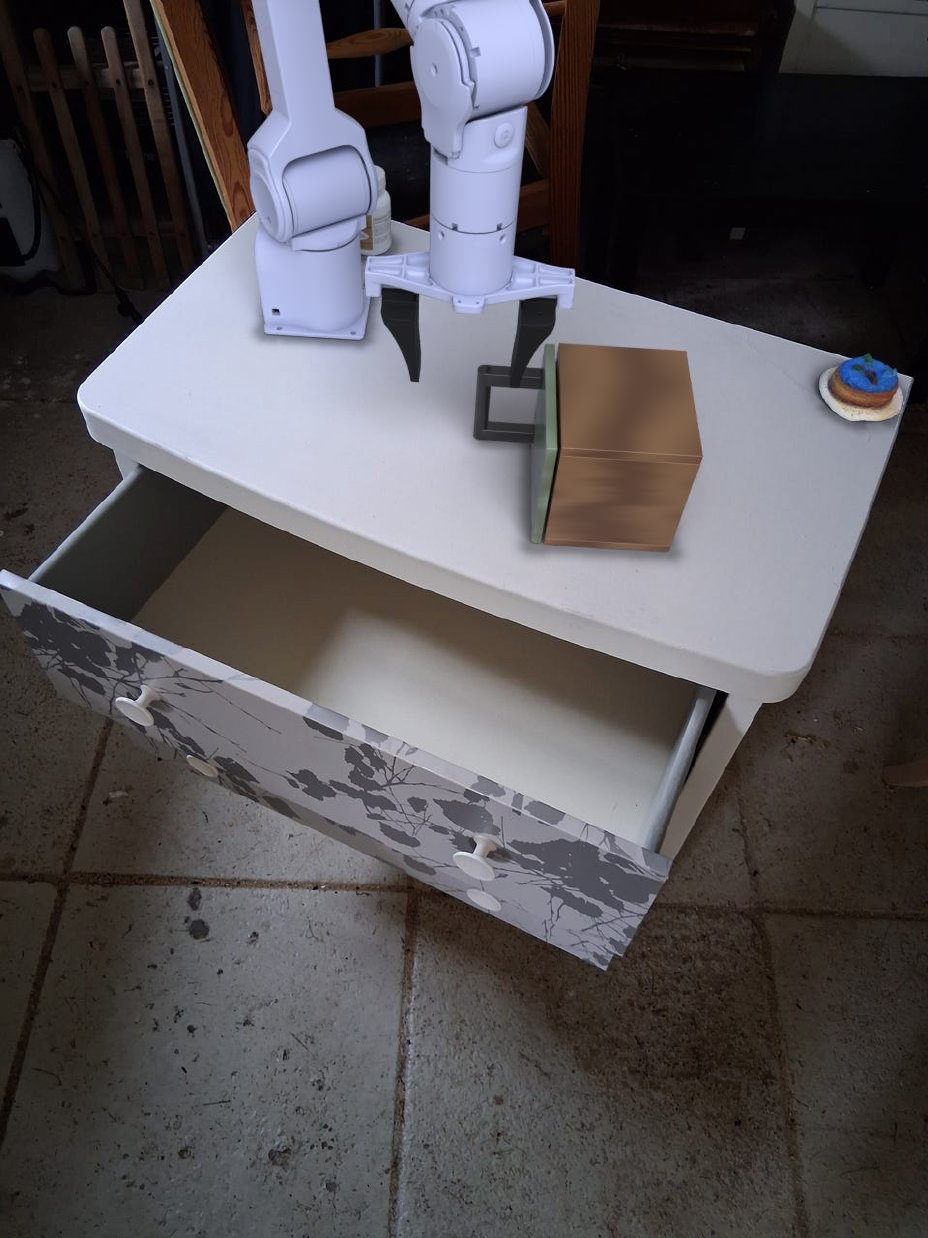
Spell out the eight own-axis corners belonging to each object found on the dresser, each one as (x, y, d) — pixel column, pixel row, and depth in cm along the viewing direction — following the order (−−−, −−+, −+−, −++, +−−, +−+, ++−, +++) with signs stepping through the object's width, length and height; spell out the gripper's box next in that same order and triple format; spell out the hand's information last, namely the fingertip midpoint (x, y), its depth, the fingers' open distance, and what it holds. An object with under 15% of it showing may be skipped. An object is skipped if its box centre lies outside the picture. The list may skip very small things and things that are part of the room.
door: (467, 539, 71) (473, 443, 62) (472, 437, 77) (479, 338, 69) (540, 543, 71) (557, 449, 62) (540, 441, 78) (555, 343, 69)
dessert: (833, 420, 80) (847, 351, 78) (800, 412, 86) (812, 348, 84) (916, 426, 81) (932, 358, 79) (878, 417, 87) (891, 354, 85)
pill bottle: (341, 243, 94) (335, 170, 87) (372, 228, 96) (369, 156, 89) (368, 262, 92) (364, 189, 86) (400, 246, 94) (398, 174, 88)
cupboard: (543, 545, 71) (561, 447, 62) (542, 443, 78) (558, 342, 69) (668, 552, 71) (703, 456, 62) (656, 450, 78) (686, 350, 69)
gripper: (355, 237, 56) (366, 405, 67) (587, 252, 56) (559, 417, 67) (367, 177, 60) (375, 345, 71) (583, 191, 60) (557, 357, 71)
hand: (465, 376), depth 69 cm, fingers open, 7 cm apart
